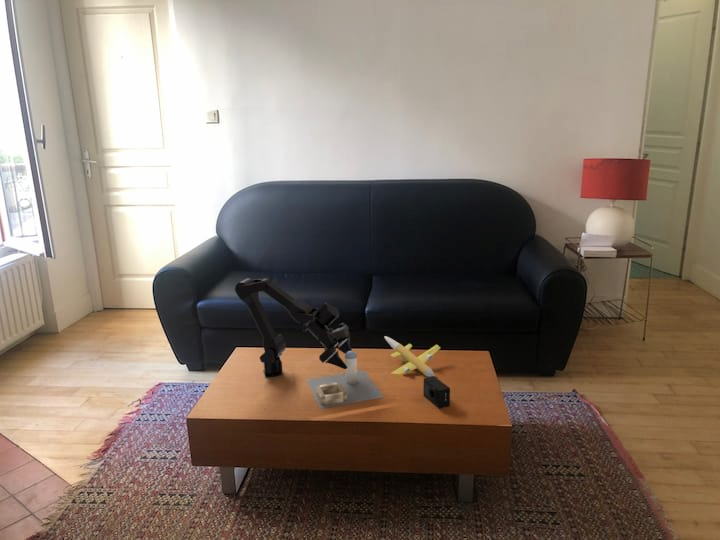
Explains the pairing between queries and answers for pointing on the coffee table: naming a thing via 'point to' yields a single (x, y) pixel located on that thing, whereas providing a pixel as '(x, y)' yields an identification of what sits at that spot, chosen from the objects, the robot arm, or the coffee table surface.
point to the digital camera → (436, 392)
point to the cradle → (331, 397)
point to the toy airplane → (412, 358)
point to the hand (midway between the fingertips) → (350, 363)
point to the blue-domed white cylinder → (351, 367)
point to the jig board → (348, 388)
